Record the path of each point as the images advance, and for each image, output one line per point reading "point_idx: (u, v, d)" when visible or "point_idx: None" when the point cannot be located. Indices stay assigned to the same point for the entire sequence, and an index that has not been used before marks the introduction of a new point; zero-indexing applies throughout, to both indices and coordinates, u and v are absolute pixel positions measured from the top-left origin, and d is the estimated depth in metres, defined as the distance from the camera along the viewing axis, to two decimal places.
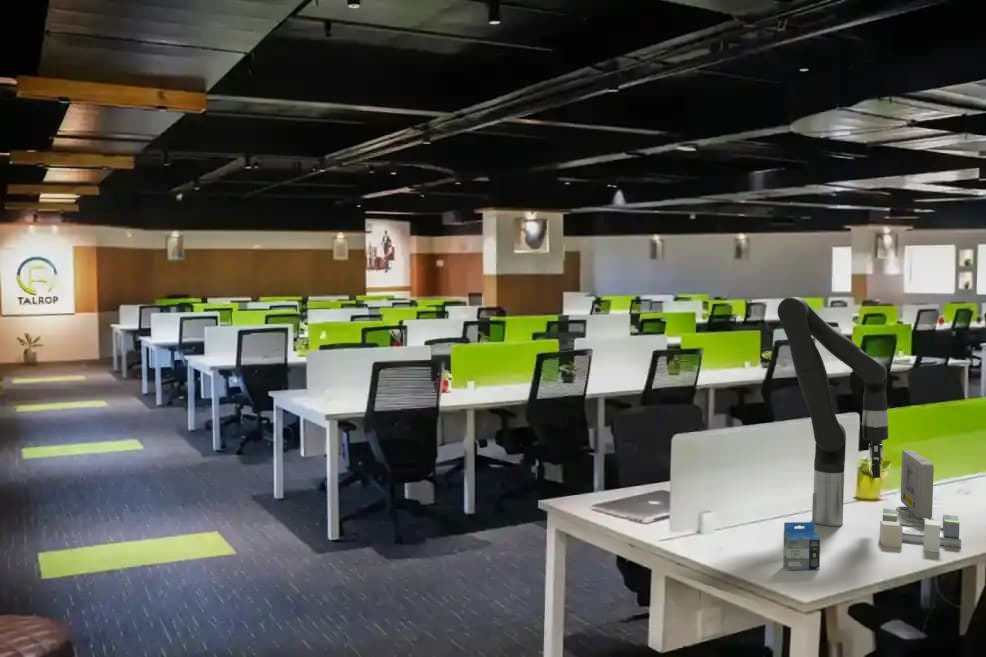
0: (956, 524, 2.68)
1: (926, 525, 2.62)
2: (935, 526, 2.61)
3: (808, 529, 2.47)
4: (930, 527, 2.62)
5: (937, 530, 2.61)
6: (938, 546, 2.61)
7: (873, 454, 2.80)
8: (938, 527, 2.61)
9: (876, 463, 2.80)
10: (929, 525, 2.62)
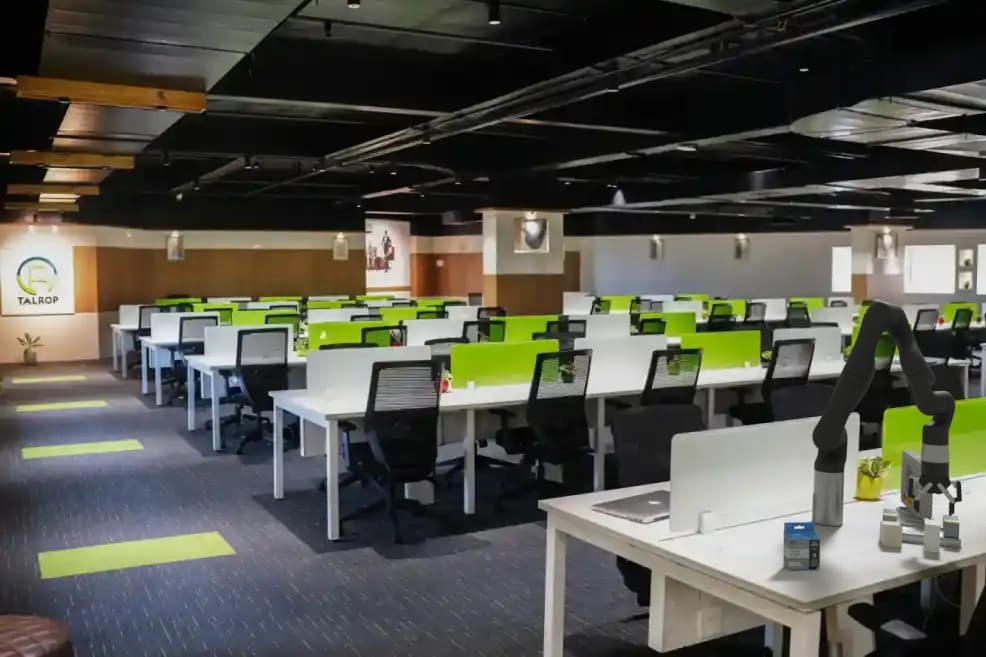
0: (956, 524, 2.68)
1: (926, 525, 2.62)
2: (935, 526, 2.61)
3: (808, 529, 2.47)
4: (930, 527, 2.62)
5: (937, 530, 2.61)
6: (938, 546, 2.61)
7: None
8: (938, 527, 2.61)
9: None
10: (929, 525, 2.62)
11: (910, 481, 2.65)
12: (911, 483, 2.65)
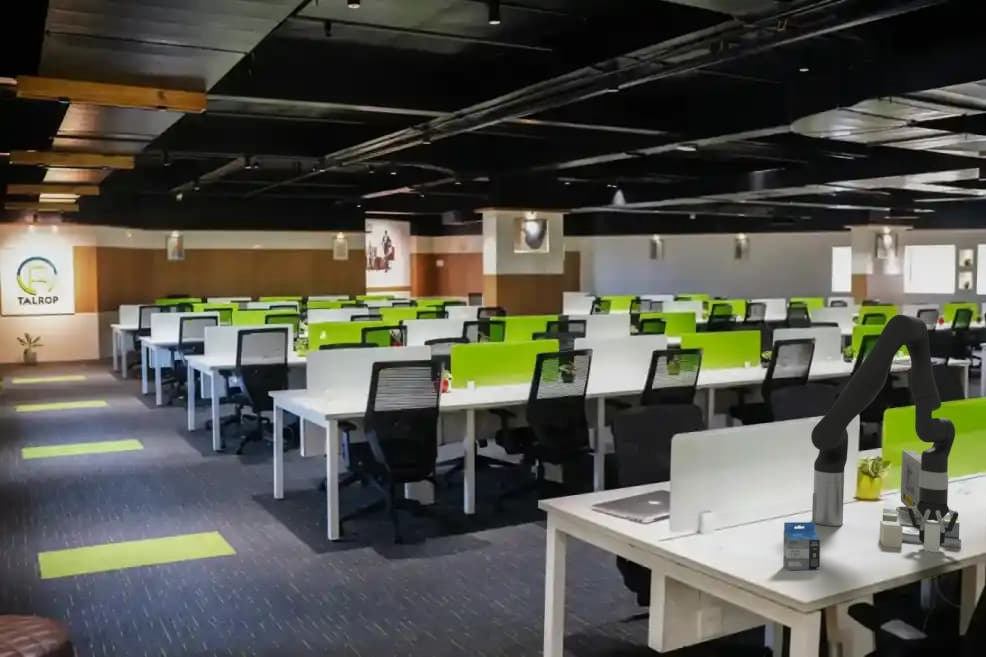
0: (956, 524, 2.68)
1: (926, 525, 2.62)
2: (935, 526, 2.61)
3: (808, 529, 2.47)
4: (930, 527, 2.62)
5: (937, 530, 2.61)
6: (938, 546, 2.61)
7: None
8: (938, 527, 2.61)
9: None
10: (929, 525, 2.62)
11: (909, 511, 2.66)
12: (911, 513, 2.65)
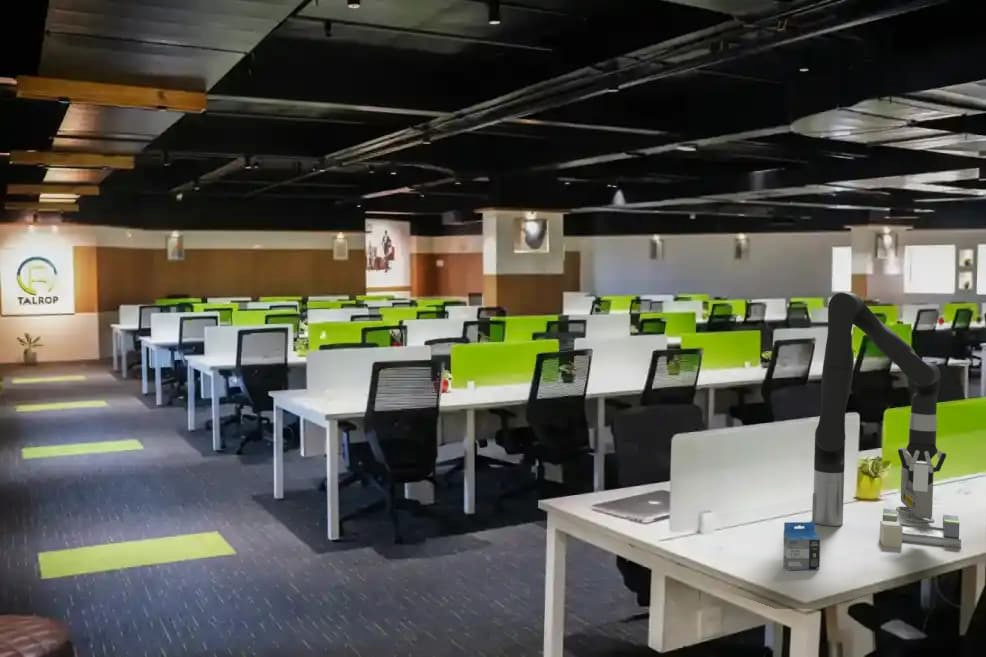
0: (956, 524, 2.68)
1: (915, 465, 2.73)
2: (924, 466, 2.72)
3: (808, 529, 2.47)
4: (919, 467, 2.73)
5: (925, 470, 2.72)
6: (926, 485, 2.72)
7: None
8: (926, 467, 2.72)
9: None
10: (918, 465, 2.73)
11: (899, 453, 2.77)
12: (901, 454, 2.77)
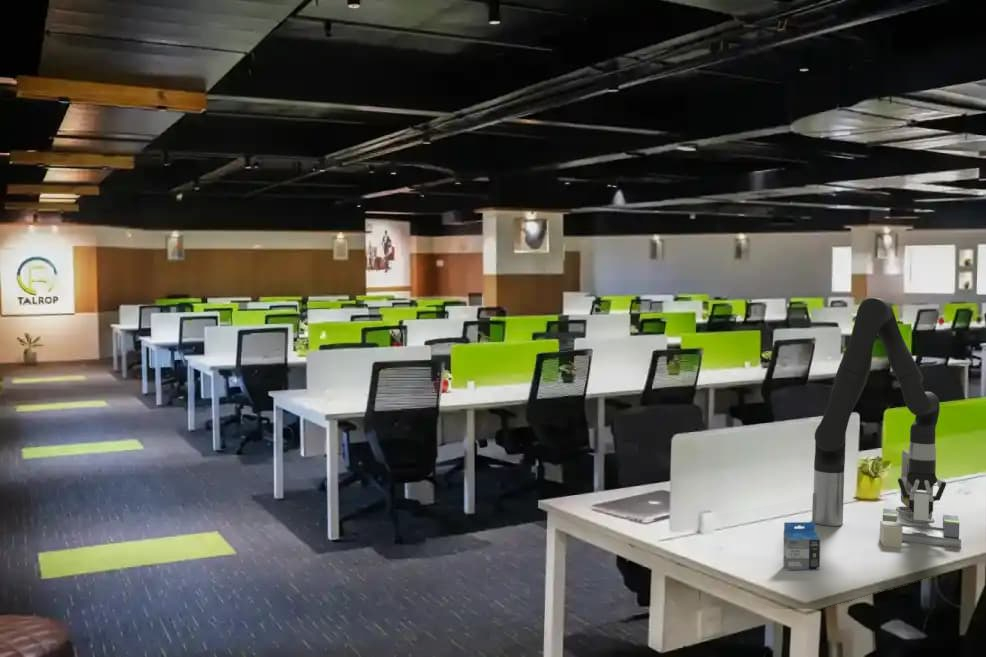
0: (956, 524, 2.68)
1: (915, 494, 2.74)
2: (924, 495, 2.73)
3: (808, 529, 2.47)
4: (919, 496, 2.74)
5: (926, 499, 2.73)
6: (927, 514, 2.73)
7: None
8: (927, 496, 2.73)
9: None
10: (918, 494, 2.74)
11: (899, 482, 2.77)
12: (901, 483, 2.77)
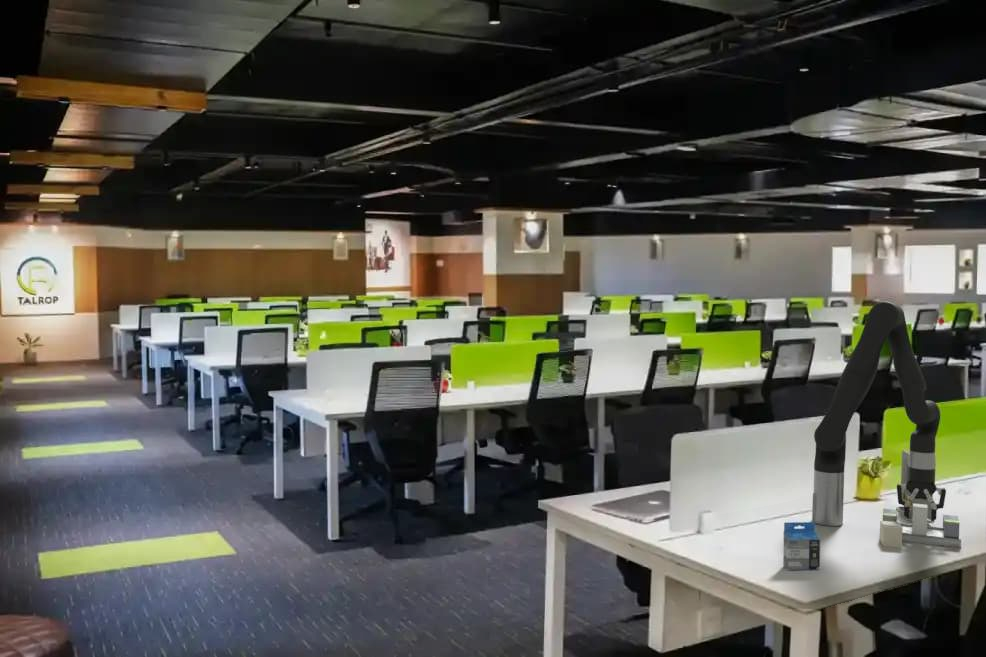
0: (956, 524, 2.68)
1: (914, 508, 2.74)
2: (923, 509, 2.73)
3: (808, 529, 2.47)
4: (918, 510, 2.74)
5: (924, 513, 2.73)
6: (925, 528, 2.73)
7: (944, 498, 2.73)
8: (925, 510, 2.73)
9: None
10: (917, 508, 2.74)
11: (898, 488, 2.78)
12: (899, 490, 2.77)
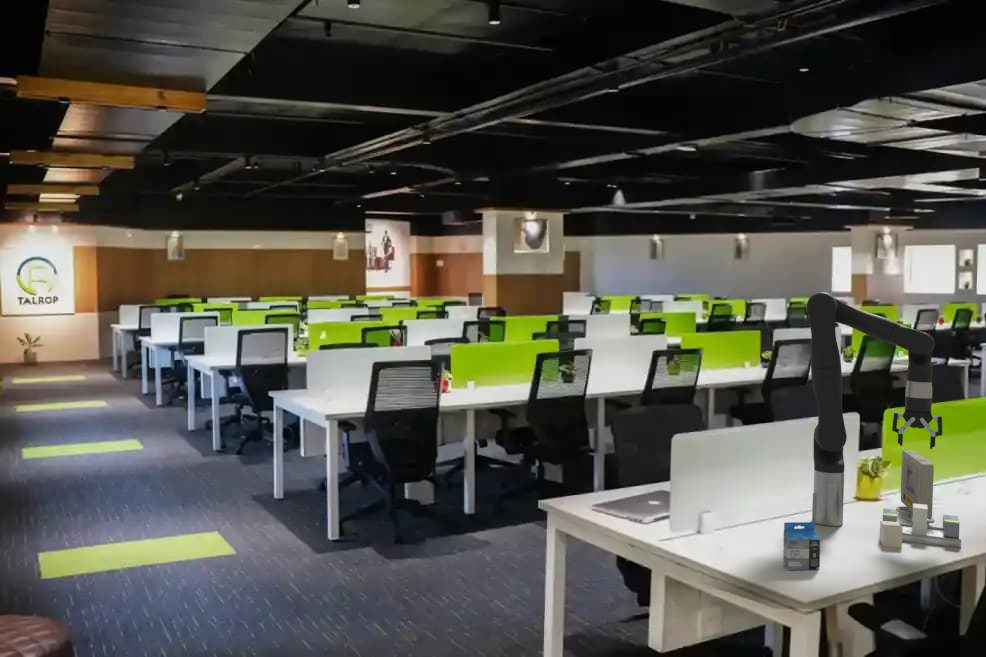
0: (956, 524, 2.68)
1: (914, 508, 2.74)
2: (923, 509, 2.73)
3: (808, 529, 2.47)
4: (918, 510, 2.74)
5: (924, 513, 2.73)
6: (925, 528, 2.73)
7: None
8: (925, 510, 2.73)
9: (941, 433, 2.79)
10: (917, 508, 2.74)
11: (894, 416, 2.84)
12: (895, 418, 2.83)
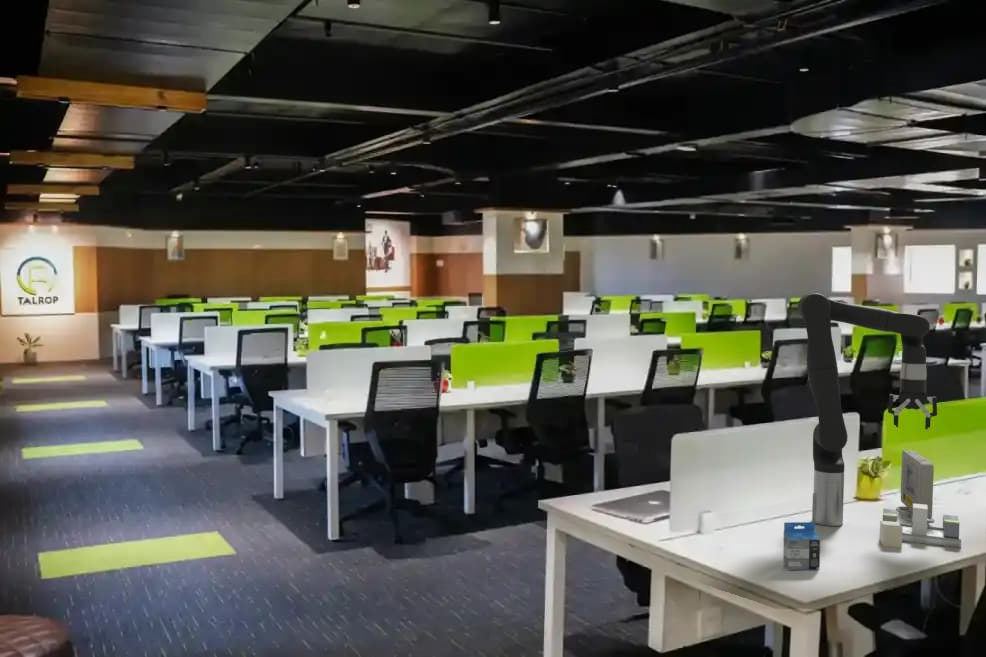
0: (956, 524, 2.68)
1: (914, 508, 2.74)
2: (923, 509, 2.73)
3: (808, 529, 2.47)
4: (918, 510, 2.74)
5: (924, 513, 2.73)
6: (925, 528, 2.73)
7: (936, 405, 2.83)
8: (925, 510, 2.73)
9: None
10: (917, 508, 2.74)
11: (890, 398, 2.88)
12: (891, 399, 2.88)
